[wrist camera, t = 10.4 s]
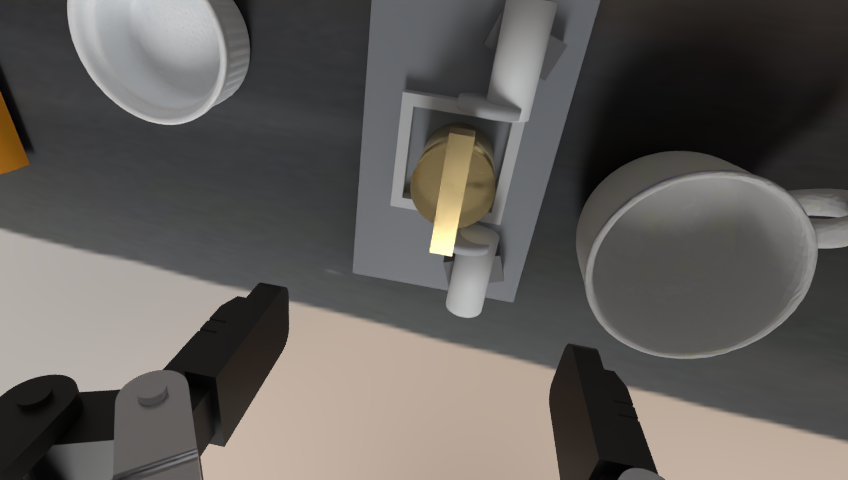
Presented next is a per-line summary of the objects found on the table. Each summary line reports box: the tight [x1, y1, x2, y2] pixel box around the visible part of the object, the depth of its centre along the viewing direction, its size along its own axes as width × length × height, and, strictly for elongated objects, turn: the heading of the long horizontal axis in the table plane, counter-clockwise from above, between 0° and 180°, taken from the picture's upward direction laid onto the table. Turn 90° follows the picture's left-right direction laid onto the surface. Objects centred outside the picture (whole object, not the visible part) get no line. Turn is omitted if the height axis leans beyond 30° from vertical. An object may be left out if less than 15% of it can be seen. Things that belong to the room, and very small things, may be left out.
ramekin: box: [67, 0, 250, 125], centre depth 26 cm, size 9×9×4 cm
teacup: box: [576, 151, 848, 359], centre depth 25 cm, size 14×11×8 cm
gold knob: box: [410, 123, 495, 256], centre depth 25 cm, size 6×4×7 cm
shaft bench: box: [353, 0, 600, 318], centre depth 26 cm, size 20×12×6 cm, turn 172°
